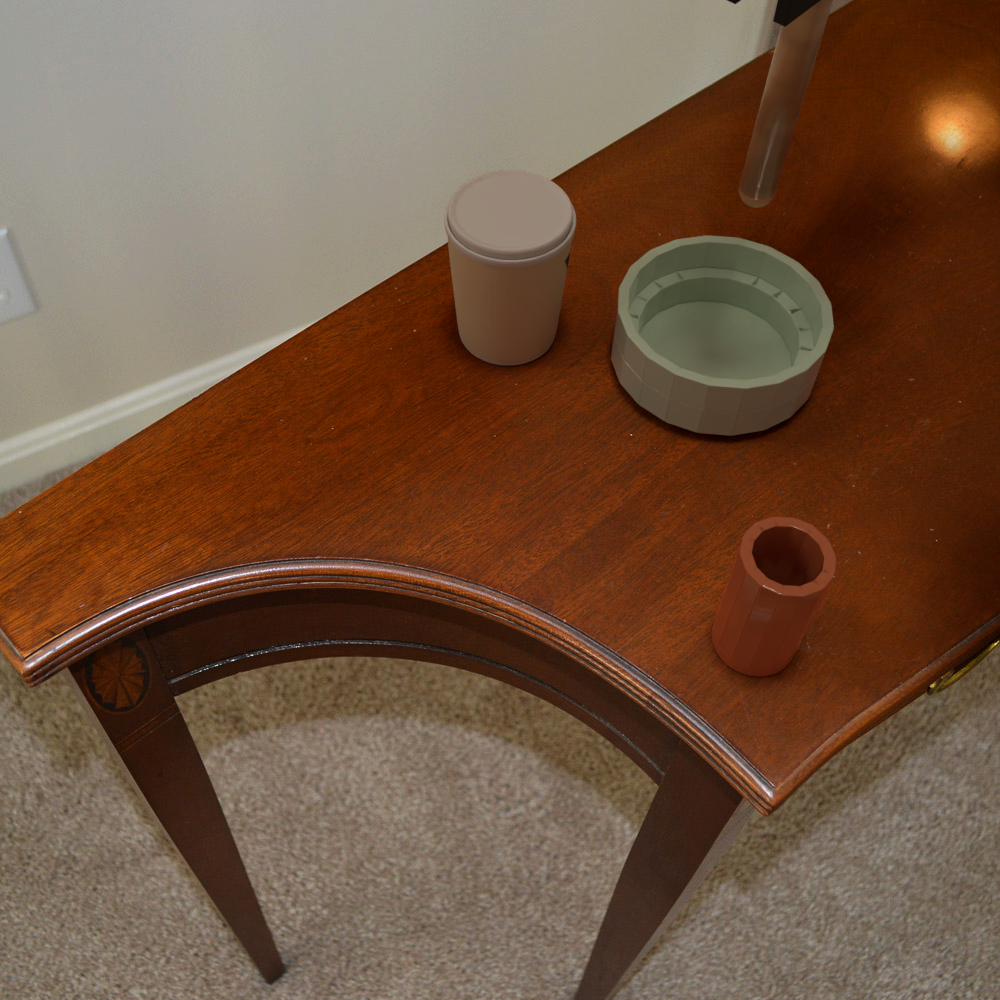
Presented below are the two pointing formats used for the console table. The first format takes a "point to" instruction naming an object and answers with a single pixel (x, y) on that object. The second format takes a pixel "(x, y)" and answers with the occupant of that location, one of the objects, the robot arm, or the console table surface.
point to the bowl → (720, 334)
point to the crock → (772, 595)
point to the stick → (782, 104)
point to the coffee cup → (509, 263)
